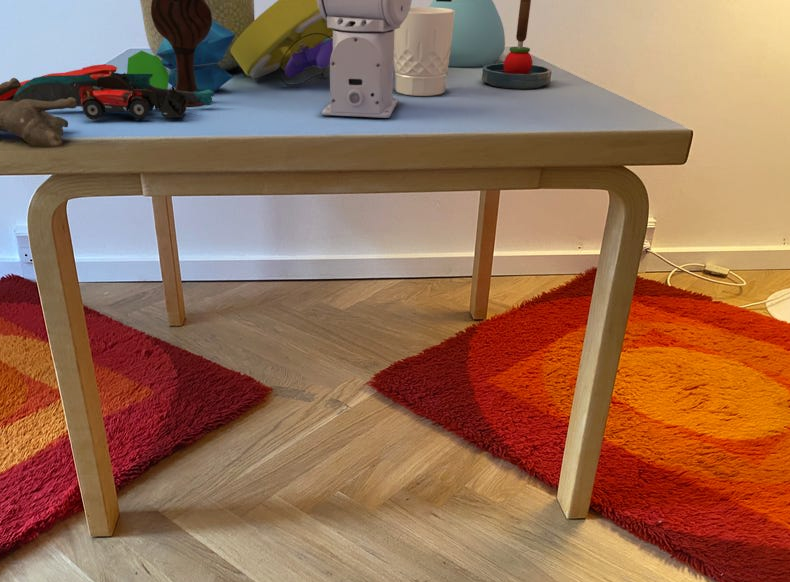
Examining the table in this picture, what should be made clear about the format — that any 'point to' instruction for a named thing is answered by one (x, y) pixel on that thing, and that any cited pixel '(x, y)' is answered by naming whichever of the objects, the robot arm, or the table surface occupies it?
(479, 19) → the sugar bowl
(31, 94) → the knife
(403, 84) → the white cup
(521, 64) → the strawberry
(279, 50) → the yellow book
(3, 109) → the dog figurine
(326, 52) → the game controller
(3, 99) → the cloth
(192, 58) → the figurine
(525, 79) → the dish
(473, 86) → the table surface
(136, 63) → the gemstone
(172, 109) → the loader
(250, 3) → the planter
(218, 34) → the crystal
